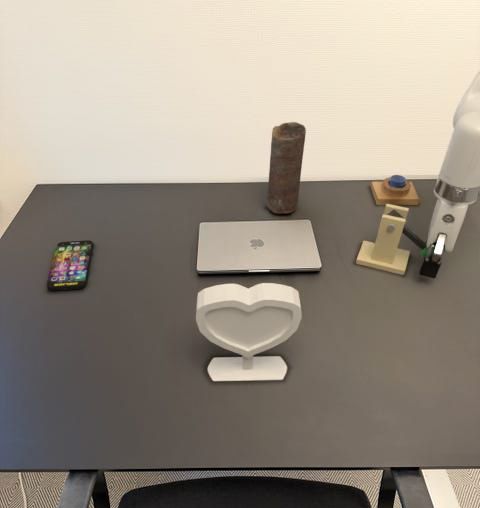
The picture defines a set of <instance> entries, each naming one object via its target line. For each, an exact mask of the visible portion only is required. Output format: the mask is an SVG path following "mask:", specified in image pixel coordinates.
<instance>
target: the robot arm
mask: <svg viewBox="0 0 480 508" xmlns="http://www.w3.org/2000/svg"><path fill="white" fill-rule="evenodd" d="M452 128H453V130H452V134H451V137H450V140H449V143H448V146H447V149H446V152H445V155H444V157H443V161H442V164H441V167H440V169H439V173H438V176H437V179H436V182H435V185H434V188H433V194H434V196H435V197H436V198H437V200H436V203H435V205H434V209H433V212H432V216H431V218H430V224H429V228H428V233H427V239H426V241H425V243H426V244H427V247H428V248H429V250H428V253H427V256H426V258H423V261H422V263H421V266H420V269H419V270H418V271H419V272H418V275H419V276H422V277H426V278H430V279H436V278H437V275H438V273H439V270H440V267H441V265H442V260H443V257H444V254H445V252H446V253H452V252H453V250H454V248H455V245H456V242H457V239H458V236H459V234H460V231H461V229H462V226H463V224H464V221H465V218H466V215H467V212H468V210H469V209H468V208H469V206H470V205H473V204H474V203H475V202H476V201H477V200H478V198H479V195H480V70H479V71H478V73H477V74H476V75H475V77H474V78H473V79H472V81H471V83H470V85H469V86H468V88H467V89H466V91H465V92H464V94H463V96H462V97H461V100H460V101H459V103H458V105H457V107H456V109H455V111H454V114H453V118H452ZM433 244H434V245H435V246H434V245H433ZM432 249H435V250H434V252H433V255H432V254H431V251H432ZM430 254H431V255H430Z"/></svg>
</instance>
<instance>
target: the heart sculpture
mask: <svg viewBox="0 0 480 508" xmlns="http://www.w3.org/2000/svg"><path fill="white" fill-rule="evenodd" d="M195 307H196V308H195V321H196V324H197V328H198V331H199V332H200V334H202V335H203V336H204V337H205V338H206V339H207V340H208V341H209V342H210V343H212V344H214V345H217V346H218V347H220V348H222V349H224V350H227V351H230V352H232V353H235V354H238V355H241V356H227V357H226V356H224V357H213V358H212V359H211V361H209V364H208V366H207V373H208V375H209V377H210V378H211V380H212V381H213V382H234V381H235V382H237V381H238V382H239V381H240V382H241V381H283V380H284V378H285V376H286V374H287V373H288V372H287V371H288V366H287V364H286V362H285V360H284V359H283V358H282V357H281V356H280V355H274V356H272V355H270V356H269V355H267V356H255V355H257V354H260V353H263V352H265V351H267V350H271V349H272V348H275V347H276V346H278V345H279V344H282V343H284V342H286V341H287V340H289V338H291V337H292V335H293V334H295V333H296V331H298V329H299V326H300V324H301V321H302V319H303V314H302V306H301V300H300V293H299V291H298V290H297V289H295V288H294V287H292V286H289V285H285V284H280V283H274V282H261V283H258V284H255V285H253V286H251V287H249V288H248V287H245V286H243V285H241V284H239V283H224V284H223V283H222V284H217V285H213V286H209V287H205V288H203V289H202V290H200V291H199V292H197V298H196V306H195Z"/></svg>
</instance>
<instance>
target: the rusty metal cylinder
mask: <svg viewBox="0 0 480 508" xmlns="http://www.w3.org/2000/svg"><path fill="white" fill-rule="evenodd" d="M306 129H307V128H306V127H305V125H304V124H302V123H299V122H296V121H289V122H283V123H281V124H279V125H275V126H273V128H272V130H271V141H270V157H269V170H268V171H269V172H268V184H267V195H266V207H267V208H268V209H269V210H270V211H271V212H272V213H273V214H278V215H280V214H290V213H291V214H292V213H293V212H295V210H296V209H297V208H298V202H299V195H300V186H301V175H302V167H303V159H304V150H305V142H306V133H307V130H306Z"/></svg>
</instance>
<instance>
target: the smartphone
mask: <svg viewBox="0 0 480 508" xmlns="http://www.w3.org/2000/svg"><path fill="white" fill-rule="evenodd" d="M93 249H94V243H93V241H92V240H71V241H61V242H59V243H57V245H56V247H55V251H54V255H53V257H52V258H53V259H52V262H51V265H50V269H49V274H48V277H47V281H46V288H47V290H48V291H51V292H56V291H69V290H82V289H83V288H85V287H86V285H87V282H88V278H89V272H90V271H89V270H90V267H91V266H90V265H91V260H92V254H93Z"/></svg>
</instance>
